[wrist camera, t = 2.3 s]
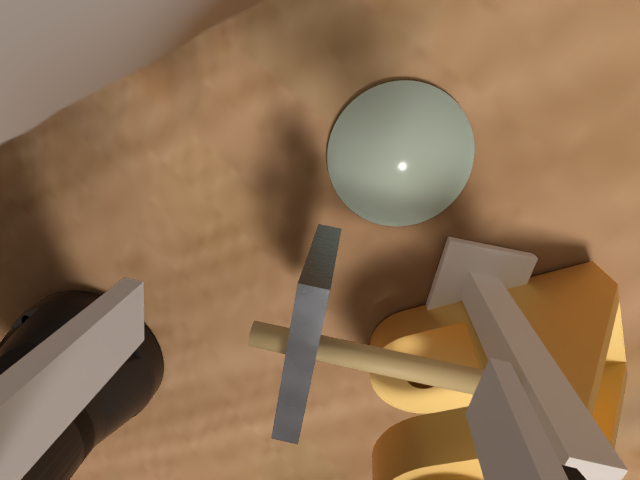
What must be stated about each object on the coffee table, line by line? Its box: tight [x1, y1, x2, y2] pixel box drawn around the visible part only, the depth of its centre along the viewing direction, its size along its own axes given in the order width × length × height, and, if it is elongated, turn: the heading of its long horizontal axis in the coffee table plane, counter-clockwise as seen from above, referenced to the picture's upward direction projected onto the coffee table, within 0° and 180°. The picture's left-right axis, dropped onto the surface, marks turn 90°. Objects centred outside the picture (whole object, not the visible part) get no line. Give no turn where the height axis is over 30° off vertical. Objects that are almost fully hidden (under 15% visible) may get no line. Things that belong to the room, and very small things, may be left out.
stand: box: [248, 236, 628, 480], centre depth 25 cm, size 20×7×18 cm, turn 80°
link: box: [272, 224, 341, 444], centre depth 23 cm, size 2×10×8 cm, turn 170°
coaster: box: [327, 80, 475, 226], centre depth 30 cm, size 11×11×1 cm
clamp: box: [369, 261, 627, 480], centre depth 28 cm, size 20×9×16 cm, turn 112°
